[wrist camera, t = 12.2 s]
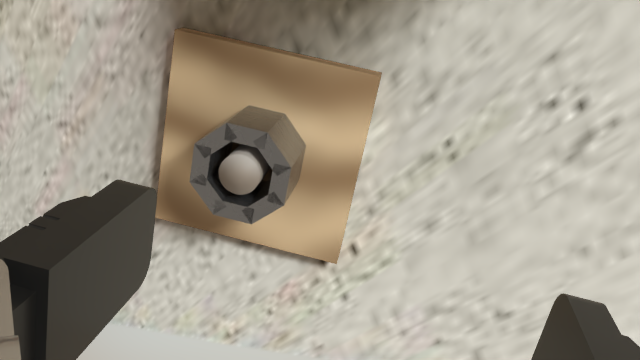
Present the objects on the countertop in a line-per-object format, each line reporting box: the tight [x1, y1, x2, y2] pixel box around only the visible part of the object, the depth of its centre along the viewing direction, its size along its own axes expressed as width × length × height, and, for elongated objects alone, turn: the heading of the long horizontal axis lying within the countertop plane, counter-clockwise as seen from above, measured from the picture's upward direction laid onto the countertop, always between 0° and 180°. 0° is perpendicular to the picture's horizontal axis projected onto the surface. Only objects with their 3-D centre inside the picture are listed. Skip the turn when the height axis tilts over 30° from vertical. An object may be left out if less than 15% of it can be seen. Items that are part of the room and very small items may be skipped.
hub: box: [189, 105, 306, 224], centre depth 39 cm, size 6×6×5 cm
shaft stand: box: [155, 28, 382, 264], centre depth 40 cm, size 14×14×6 cm
